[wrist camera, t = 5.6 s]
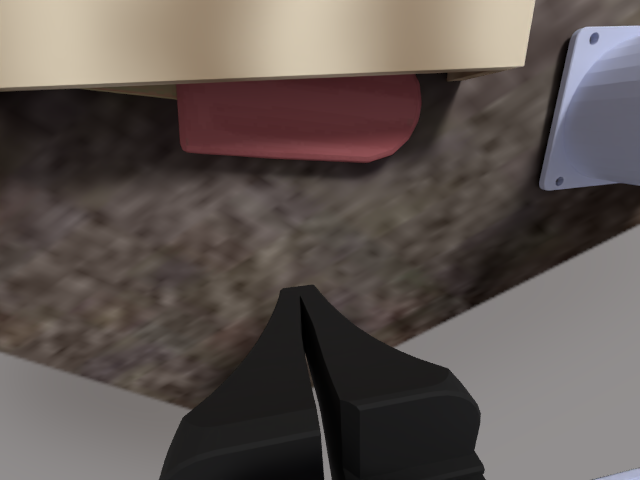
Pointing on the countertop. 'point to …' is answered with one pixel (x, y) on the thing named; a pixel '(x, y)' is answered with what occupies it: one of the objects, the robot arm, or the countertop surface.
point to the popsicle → (294, 116)
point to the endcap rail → (253, 40)
